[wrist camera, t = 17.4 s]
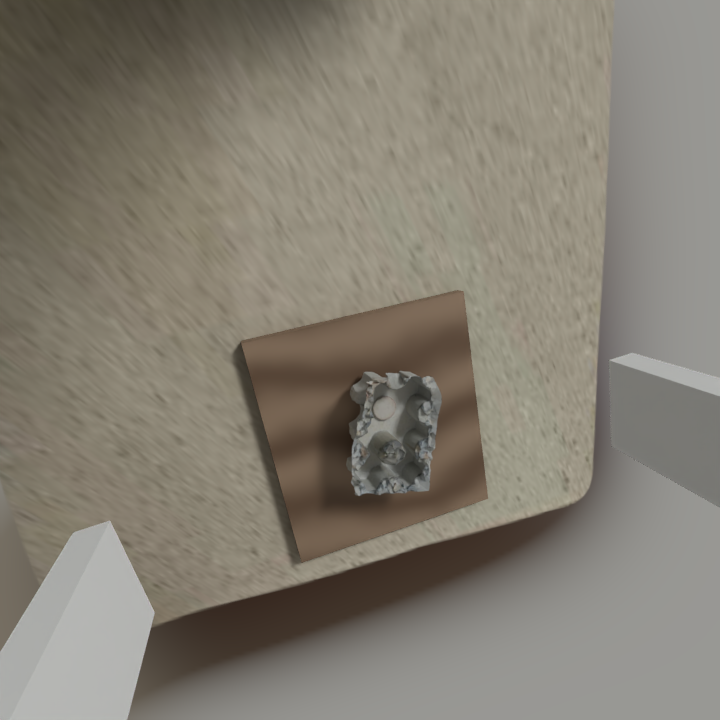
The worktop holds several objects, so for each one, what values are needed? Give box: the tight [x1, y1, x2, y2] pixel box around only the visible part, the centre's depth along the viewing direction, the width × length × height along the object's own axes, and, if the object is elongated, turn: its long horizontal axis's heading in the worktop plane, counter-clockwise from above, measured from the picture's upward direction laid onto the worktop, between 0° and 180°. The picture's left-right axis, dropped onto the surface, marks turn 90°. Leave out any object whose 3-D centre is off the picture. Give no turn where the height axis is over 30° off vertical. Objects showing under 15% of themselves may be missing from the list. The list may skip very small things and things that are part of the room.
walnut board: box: [241, 290, 488, 562], centre depth 40 cm, size 22×20×1 cm
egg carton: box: [346, 371, 442, 496], centre depth 37 cm, size 11×8×4 cm
